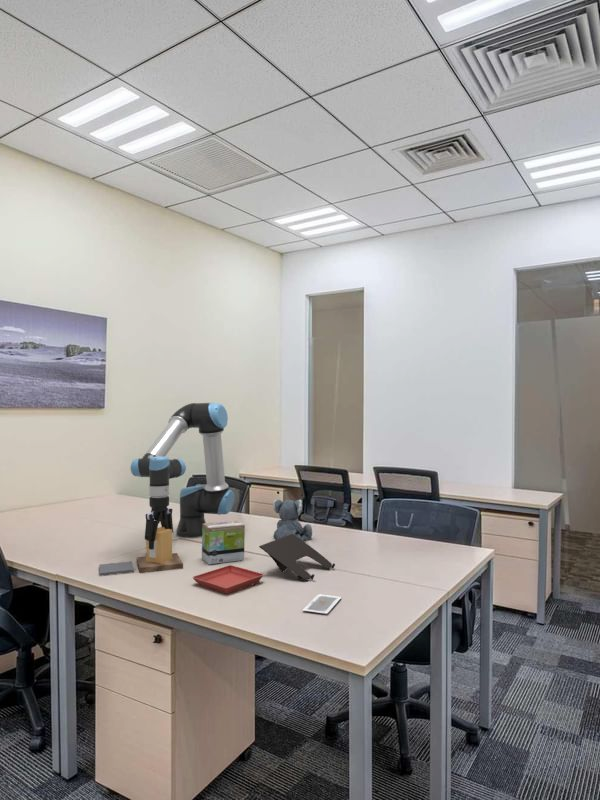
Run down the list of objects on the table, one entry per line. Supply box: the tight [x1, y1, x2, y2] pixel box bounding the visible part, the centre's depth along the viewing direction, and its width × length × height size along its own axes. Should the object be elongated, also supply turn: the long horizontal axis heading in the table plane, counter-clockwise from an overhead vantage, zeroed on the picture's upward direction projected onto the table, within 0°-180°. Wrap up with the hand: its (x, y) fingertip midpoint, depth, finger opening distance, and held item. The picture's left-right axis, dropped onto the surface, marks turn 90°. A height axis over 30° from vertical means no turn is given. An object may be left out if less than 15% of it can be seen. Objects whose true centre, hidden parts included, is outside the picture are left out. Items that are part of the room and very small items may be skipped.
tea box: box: [201, 520, 246, 566], centre depth 219 cm, size 15×10×15 cm
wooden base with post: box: [136, 552, 184, 574], centre depth 212 cm, size 16×16×11 cm
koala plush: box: [272, 498, 313, 542], centre depth 251 cm, size 17×18×20 cm
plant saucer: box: [192, 564, 264, 595], centre depth 189 cm, size 18×18×3 cm
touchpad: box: [302, 593, 342, 614], centre depth 168 cm, size 8×15×2 cm, turn 159°
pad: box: [99, 561, 135, 576], centre depth 206 cm, size 12×12×1 cm
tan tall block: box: [145, 526, 173, 563], centre depth 212 cm, size 7×7×12 cm
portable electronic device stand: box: [258, 534, 336, 582], centre depth 204 cm, size 23×23×9 cm
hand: (159, 554), depth 212 cm, fingers closed on tan tall block, 7 cm apart
